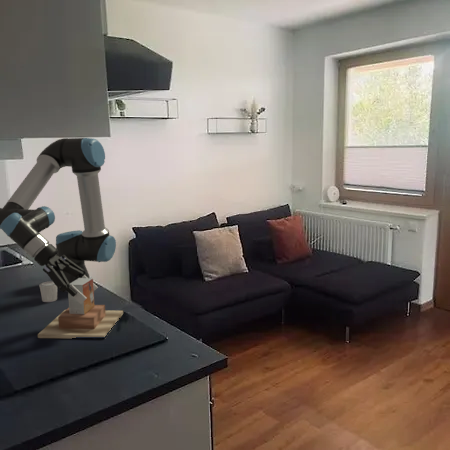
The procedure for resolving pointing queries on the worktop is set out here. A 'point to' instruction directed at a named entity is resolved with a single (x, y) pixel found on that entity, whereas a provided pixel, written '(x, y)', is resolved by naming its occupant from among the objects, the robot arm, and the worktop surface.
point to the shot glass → (48, 291)
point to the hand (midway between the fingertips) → (89, 295)
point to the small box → (88, 291)
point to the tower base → (82, 332)
